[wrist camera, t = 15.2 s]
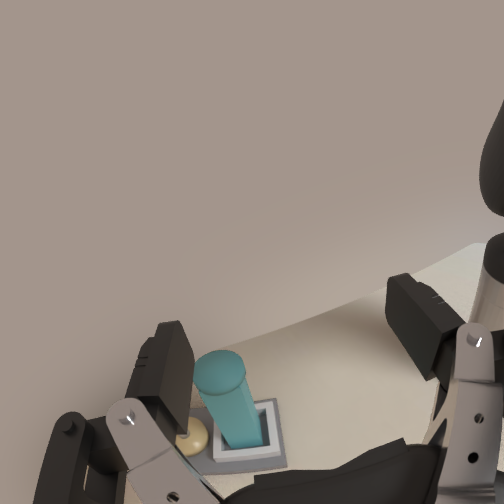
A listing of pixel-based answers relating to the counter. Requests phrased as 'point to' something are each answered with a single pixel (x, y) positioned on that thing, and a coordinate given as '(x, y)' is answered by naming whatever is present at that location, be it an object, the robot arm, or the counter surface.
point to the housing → (219, 451)
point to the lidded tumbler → (228, 397)
